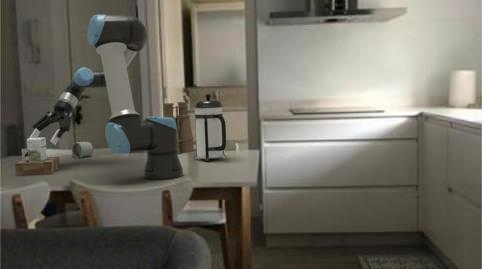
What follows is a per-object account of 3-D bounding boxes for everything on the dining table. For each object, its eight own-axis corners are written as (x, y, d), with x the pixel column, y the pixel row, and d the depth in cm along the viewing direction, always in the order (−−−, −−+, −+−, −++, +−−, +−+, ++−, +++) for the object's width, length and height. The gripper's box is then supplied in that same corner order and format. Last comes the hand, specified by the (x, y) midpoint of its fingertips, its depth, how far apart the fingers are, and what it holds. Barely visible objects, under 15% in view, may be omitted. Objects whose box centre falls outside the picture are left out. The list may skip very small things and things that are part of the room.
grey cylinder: (95, 156, 268) (94, 140, 267) (82, 158, 261) (80, 142, 261) (80, 155, 274) (79, 140, 273) (67, 157, 267) (66, 142, 266)
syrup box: (48, 170, 230) (46, 136, 228) (41, 173, 224) (39, 138, 222) (35, 170, 231) (33, 137, 229) (28, 173, 225) (26, 138, 223)
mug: (25, 164, 247) (24, 150, 247) (20, 163, 252) (19, 149, 252) (47, 162, 254) (46, 148, 253) (42, 160, 259) (41, 146, 258)
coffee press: (188, 162, 239) (185, 94, 236) (199, 156, 255) (197, 93, 251) (226, 163, 235) (224, 94, 232) (235, 157, 250) (233, 92, 247)
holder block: (51, 174, 221) (50, 162, 221) (16, 175, 220) (15, 163, 219) (59, 168, 235) (58, 156, 234) (26, 169, 234) (25, 158, 233)
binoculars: (171, 155, 261) (169, 104, 258) (156, 154, 266) (153, 104, 263) (198, 150, 277) (196, 101, 275) (183, 149, 283) (181, 101, 280)
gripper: (91, 110, 237) (67, 149, 226) (50, 110, 249) (26, 147, 237) (81, 99, 232) (57, 138, 220) (40, 99, 244) (15, 136, 232)
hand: (41, 142), depth 229 cm, fingers open, 13 cm apart
